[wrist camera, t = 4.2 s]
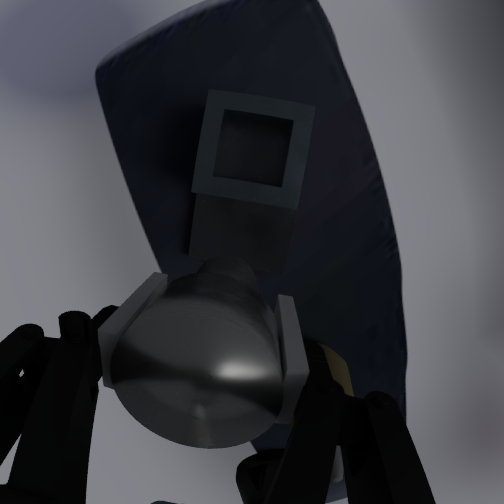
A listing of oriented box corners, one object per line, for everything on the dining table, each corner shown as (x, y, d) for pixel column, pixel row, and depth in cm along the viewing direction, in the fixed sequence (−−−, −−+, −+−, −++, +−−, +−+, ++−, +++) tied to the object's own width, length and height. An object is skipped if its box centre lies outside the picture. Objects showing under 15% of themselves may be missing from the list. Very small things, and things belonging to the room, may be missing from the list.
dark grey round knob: (263, 333, 20) (264, 457, 10) (176, 317, 20) (117, 427, 10) (281, 248, 19) (304, 335, 8) (185, 231, 19) (105, 297, 8)
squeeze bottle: (282, 389, 37) (290, 505, 20) (273, 339, 35) (279, 463, 18) (342, 378, 36) (378, 488, 19) (340, 327, 34) (389, 441, 17)
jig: (282, 271, 33) (287, 298, 26) (190, 254, 33) (172, 277, 26) (310, 122, 28) (324, 108, 22) (213, 106, 28) (200, 88, 21)
